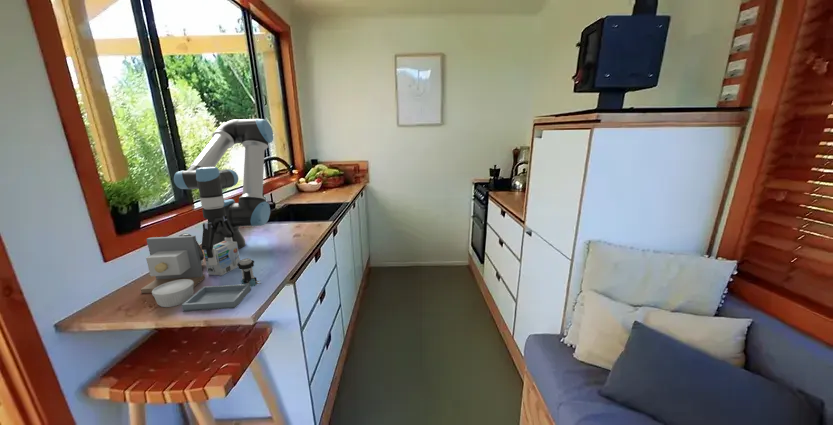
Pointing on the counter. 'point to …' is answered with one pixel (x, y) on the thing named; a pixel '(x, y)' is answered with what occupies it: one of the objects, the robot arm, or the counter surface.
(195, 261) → the mounted unit
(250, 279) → the push button
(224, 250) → the light bulb box
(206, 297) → the tray
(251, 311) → the counter surface
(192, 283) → the ramekin
